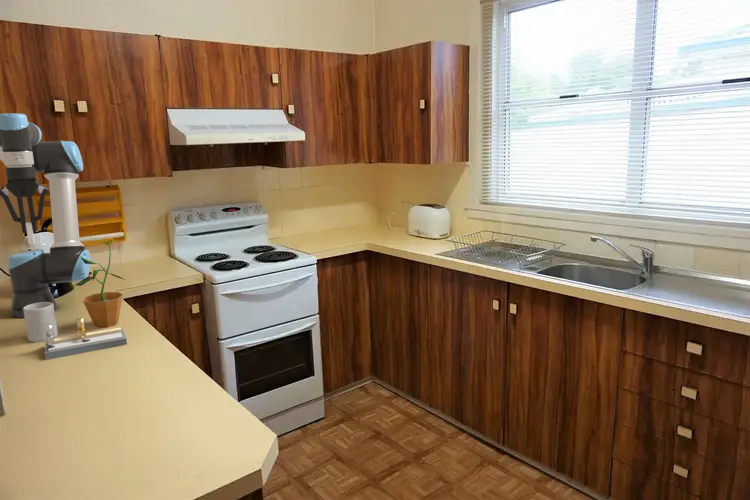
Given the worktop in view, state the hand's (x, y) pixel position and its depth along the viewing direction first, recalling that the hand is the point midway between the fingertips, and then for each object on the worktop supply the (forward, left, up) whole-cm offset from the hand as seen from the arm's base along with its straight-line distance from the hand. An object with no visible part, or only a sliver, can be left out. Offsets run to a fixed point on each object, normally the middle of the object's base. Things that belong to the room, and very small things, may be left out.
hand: (31, 243), depth 167 cm
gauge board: (+11, +11, -32) cm, 36 cm away
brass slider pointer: (+11, +10, -29) cm, 33 cm away
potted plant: (-8, +18, -33) cm, 38 cm away
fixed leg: (+11, +1, -30) cm, 31 cm away
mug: (-7, -1, -33) cm, 33 cm away
